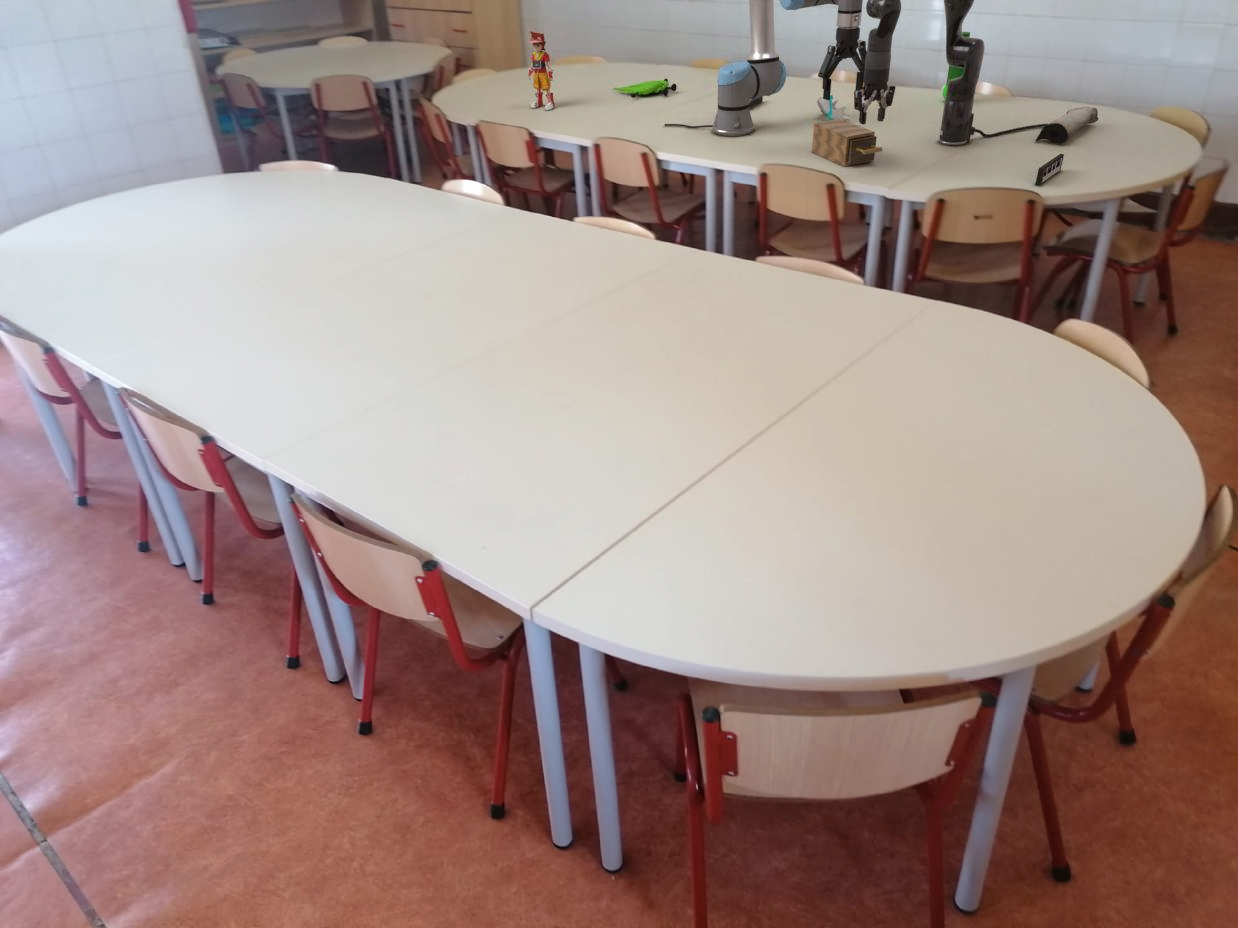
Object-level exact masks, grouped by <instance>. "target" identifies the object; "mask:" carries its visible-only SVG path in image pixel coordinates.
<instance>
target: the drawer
mask: <svg viewBox="0 0 1238 928" xmlns="http://www.w3.org/2000/svg"><path fill="white" fill-rule="evenodd" d="M877 137H878V136H876V135H874V136H871V137H869V136H865V137H859V138H854V139H849V150H848V160H847V161H848V164H850V165H849V166H852V165H851V164H855V165H857V164H856V163H860V164H863V163H862V162H865V163H868V162H867V161H871V162H872V161H875V155H876V153H879V152H883V147H882V146H877Z"/></svg>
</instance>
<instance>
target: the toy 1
mask: <svg viewBox="0 0 1238 928" xmlns="http://www.w3.org/2000/svg"><path fill="white" fill-rule="evenodd" d="M529 33H530V35H531V36H528V37H527V38H528V39H529V40H528V41H527V43H529V44H530V43H531V44H532V48H533V50H534V51H533V52H532V55H531V58H530V59H531V63H530V66H528V74H527V75H528V76H527V77H528V79H529V80H531V75H532V74H533V84H532V85H533V86H532V87H533V88H534V89H535V90H536V92H534V95H535V97H536V100H535V101H533V102H531V105H530V108H531V109H535V108H538V107H542V106H544V101H543V100H544V99H543V95H544V92H546V94H545V97H546V99H547V103H546V104H545V106H544V110H546V111H549V110H553V109H554V107H555V106H556V105H555V99H554V92H551V91H550V90H551V86H552V84H551V82H552V81H553V80H554V77H553V73H554V71H555V70H554V69H552V68H551V63H550V61H551V59H550V58H551V57H550V54H549V53H548V52H547V50H546V48H545V46H546V44H547V41H545V35H544V33H543V32H542V33H539V32H535V31H529Z"/></svg>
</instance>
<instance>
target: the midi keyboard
mask: <svg viewBox="0 0 1238 928" xmlns="http://www.w3.org/2000/svg"><path fill="white" fill-rule="evenodd" d="M1064 157H1065V153H1059V154H1058V155H1056V156H1055V157H1052V159H1051V160H1049V161H1047V162H1045V164H1042V165H1041V166H1039V167H1038V169H1037V175H1036V179H1035V186H1040V185H1042V183H1044V182H1045V181H1047V180H1048V179H1049V178H1051V177H1052V176H1054V175H1055V174H1056V173H1058V172H1060V171H1061V170H1062V165H1063V161H1064Z"/></svg>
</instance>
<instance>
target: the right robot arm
mask: <svg viewBox="0 0 1238 928" xmlns="http://www.w3.org/2000/svg"><path fill="white" fill-rule="evenodd" d="M974 3H975V0H943V5H944V13H945V14H944V16H945V58H946V63H947V64H948V66H949V65H950V66H952V67H957V68H965V69H964V73H963V75H962V76H961V77H958V78H954V79H951V80H949V81H948V84H947V83H946V84H947V90H946V96H945V99H944V104H943V111H942V116H941V117H942V118H941V125H940V129H939V132H938V133H939V137H938V143H939V144H941V145H943V146H955V147H956V146H963V145H966V144H969V143H970V142H971V141H970V140H971V137H972V136H974V135H975V133H977V134H980V136H981V137H982V138H983V137H984V138H991V137H992V138H993V137H998V136H1001V135H1004V134H1010V133H1014V132H1018V131H1025V130H1029V129H1037V128H1043V127H1044V126H1045V125H1047V124H1049V123H1050V122H1049V123H1040V124H1032V125H1026V126H1020V127H1015V128H1011V129H1007V130H1001V131H998V132H995V133H984V131H983V130H981V129H978V128H976V127H975V126H973V123H974V117H975V114H974V113H973V107H974V102H975V95H976V89H977V85H978V82H979V80H980V79H979V78H980V75H981V71H982V64H983V60H984V57H985V56H984V55H985V50H986V49H985V42H984V40H983V39H982V38H977V37H963V35H962V32H963V23H964V21H965V19H966V18H967V16H968V14H969V13H970V10H971V9H972V7H973V5H974ZM865 5H866V6H865V11H866V14H867V15H868V16H869V17H870V18H872V19H876V20H879V23H878V25H877V27H874V28H872V29H870V30H869V32H868V38H867V46H866V51H867V54H866V59H865V69H864V79H863V81H864V86H863V89H861V90H854V91H853V102H854V103H853V108H854V110H856V111H858V112H859V113H858V115H859V116H858V122H859V124H860V125H867V124H866V123H867V115H868V114H867V113H868V112H867V111H868V109H869V107H870V106H871V105H872V103H873V102H875V101H876V102H877V104H878V107H879V108H878V110H877V117H876V119H877V121H878V122H881V123H882V122H884V120H885V117H886V109H887V108H888V107H891V106H892V105H893V100H894V96H895V93H896V88H897V87H896V85H893V84H888V82H889V79H890V71H891V62H892V61H891V60H892V45H893V35H894V33H895V30H896V27H897V24H898V21H899V19H900V16H901V13H902V2H901V0H867V2H866V4H865ZM863 94H864V95H863Z"/></svg>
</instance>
